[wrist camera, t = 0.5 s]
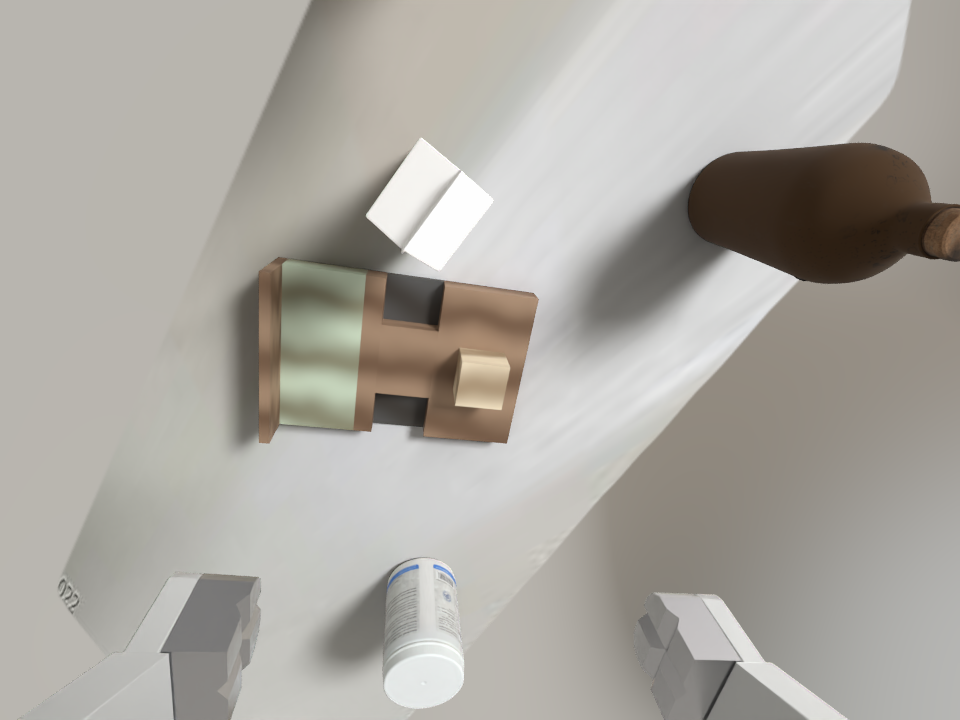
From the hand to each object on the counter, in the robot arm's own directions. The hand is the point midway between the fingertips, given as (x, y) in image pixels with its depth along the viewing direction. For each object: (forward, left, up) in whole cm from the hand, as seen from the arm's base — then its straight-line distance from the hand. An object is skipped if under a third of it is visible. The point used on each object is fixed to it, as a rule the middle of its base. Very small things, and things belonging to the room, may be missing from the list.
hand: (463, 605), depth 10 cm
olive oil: (-9, +31, -45) cm, 55 cm away
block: (+13, +7, -42) cm, 44 cm away
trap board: (+13, -2, -44) cm, 46 cm away
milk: (-5, -1, -44) cm, 45 cm away
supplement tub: (+47, +5, -45) cm, 65 cm away
